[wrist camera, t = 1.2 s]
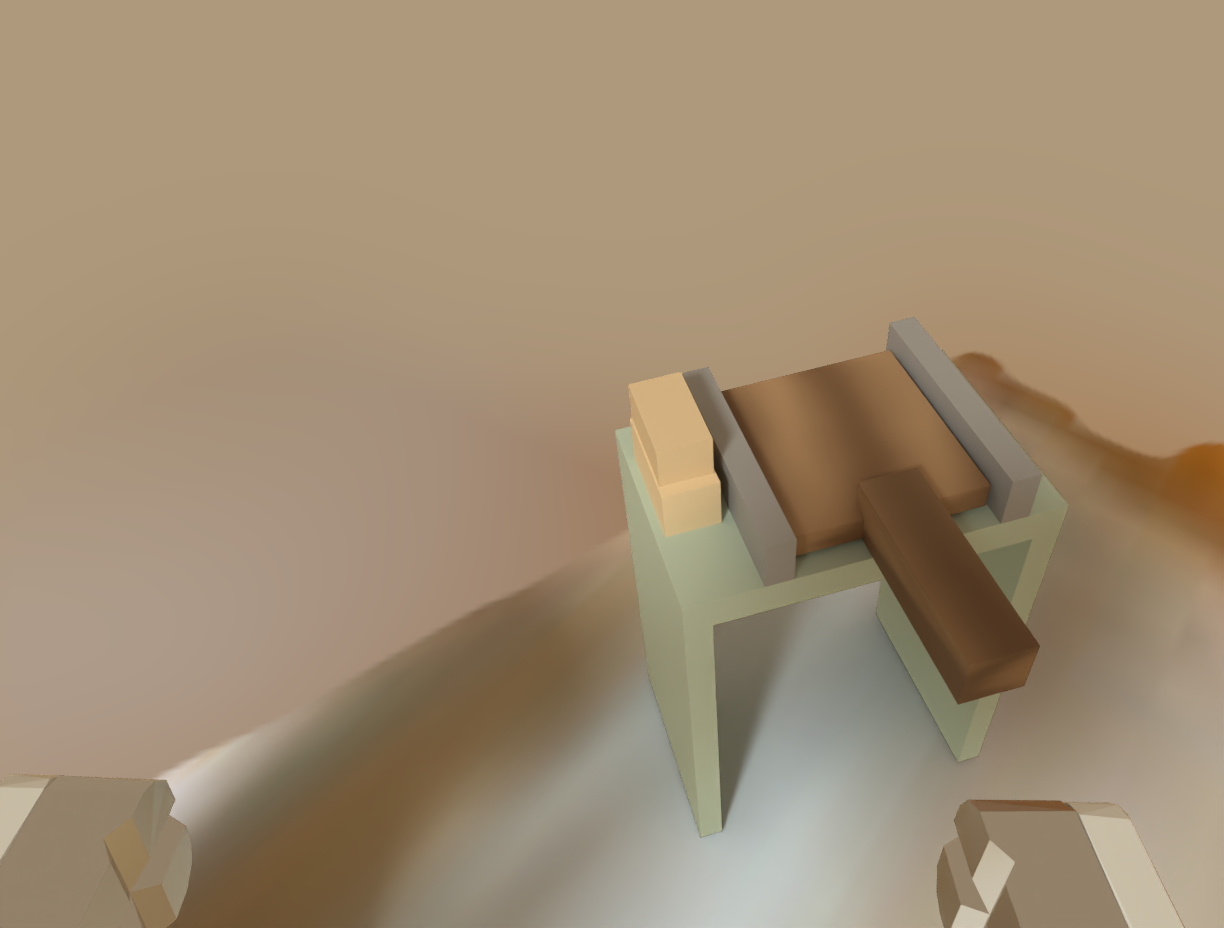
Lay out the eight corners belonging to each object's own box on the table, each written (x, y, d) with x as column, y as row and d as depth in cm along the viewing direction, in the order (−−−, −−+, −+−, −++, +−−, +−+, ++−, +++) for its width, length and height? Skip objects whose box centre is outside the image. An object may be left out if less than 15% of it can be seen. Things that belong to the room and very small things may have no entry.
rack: (700, 837, 63) (675, 536, 41) (648, 675, 73) (604, 356, 50) (978, 756, 65) (1098, 426, 43) (893, 608, 74) (956, 272, 52)
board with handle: (879, 727, 39) (887, 689, 37) (721, 411, 54) (720, 370, 51) (1100, 663, 40) (1120, 623, 38) (887, 370, 55) (892, 329, 52)
